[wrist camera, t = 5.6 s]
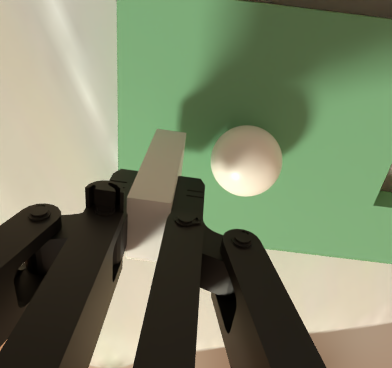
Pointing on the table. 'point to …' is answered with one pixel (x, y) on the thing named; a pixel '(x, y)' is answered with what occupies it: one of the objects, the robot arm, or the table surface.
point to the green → (268, 113)
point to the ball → (246, 160)
